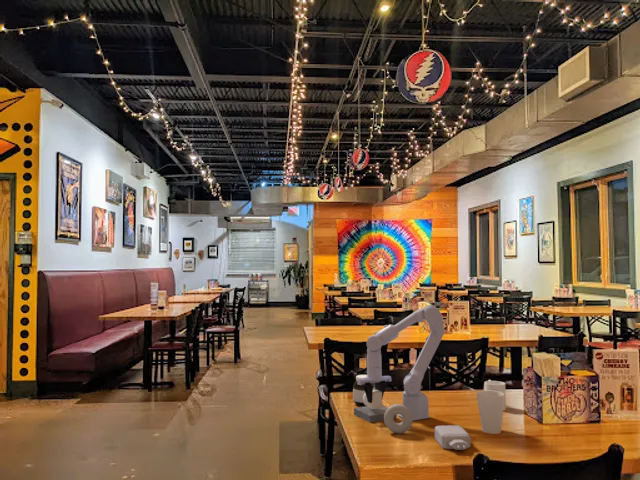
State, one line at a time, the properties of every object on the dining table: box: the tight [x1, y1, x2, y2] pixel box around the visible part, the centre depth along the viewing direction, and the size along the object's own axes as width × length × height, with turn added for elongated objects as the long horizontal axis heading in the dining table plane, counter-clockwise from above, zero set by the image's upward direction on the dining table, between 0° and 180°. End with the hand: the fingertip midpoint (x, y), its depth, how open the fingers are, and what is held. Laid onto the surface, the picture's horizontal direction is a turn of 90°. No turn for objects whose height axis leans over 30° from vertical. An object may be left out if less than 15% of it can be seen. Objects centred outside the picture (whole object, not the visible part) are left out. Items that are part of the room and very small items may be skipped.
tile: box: [353, 405, 398, 423], centre depth 195 cm, size 12×12×2 cm
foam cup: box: [476, 389, 505, 435], centre depth 177 cm, size 10×9×13 cm
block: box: [368, 389, 383, 409], centre depth 195 cm, size 4×4×6 cm
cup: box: [483, 379, 507, 411], centre depth 209 cm, size 8×12×10 cm
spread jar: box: [352, 374, 376, 407], centre depth 212 cm, size 12×11×12 cm
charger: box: [434, 424, 472, 451], centre depth 160 cm, size 5×9×15 cm
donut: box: [383, 403, 413, 435], centre depth 174 cm, size 10×4×10 cm, turn 82°
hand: (374, 401), depth 195 cm, fingers closed on block, 4 cm apart
